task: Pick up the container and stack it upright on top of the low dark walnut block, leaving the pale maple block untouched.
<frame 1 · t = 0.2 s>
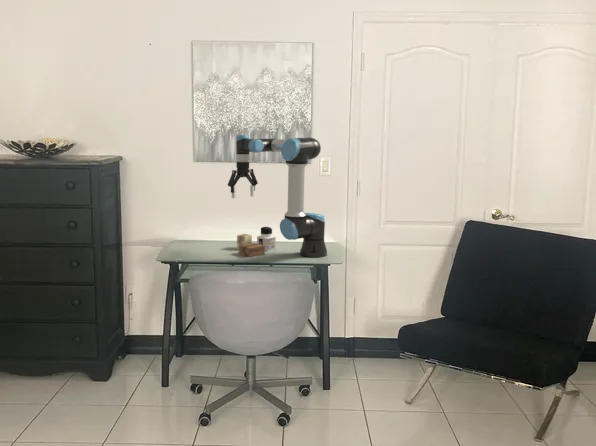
hand: (242, 197, 377), 28 cm above the table, fingers open, 13 cm apart
walnut block: (251, 254, 353), on the table
maple block: (244, 248, 367), on the table
container: (266, 249, 366), on the table
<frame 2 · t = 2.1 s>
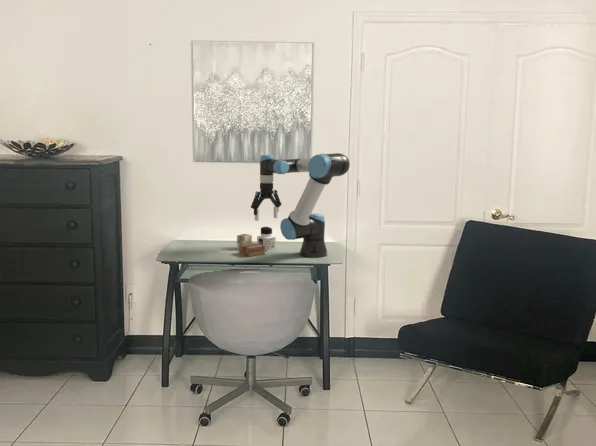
hand: (266, 219, 363), 17 cm above the table, fingers open, 13 cm apart
nothing on the table moved.
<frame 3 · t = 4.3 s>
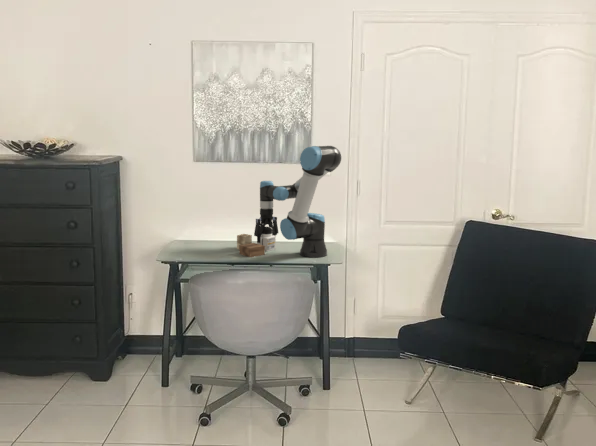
hand: (266, 247, 366), 1 cm above the table, fingers closed on container, 8 cm apart
container: (266, 249, 366), on the table, touching gripper
everything else where it was.
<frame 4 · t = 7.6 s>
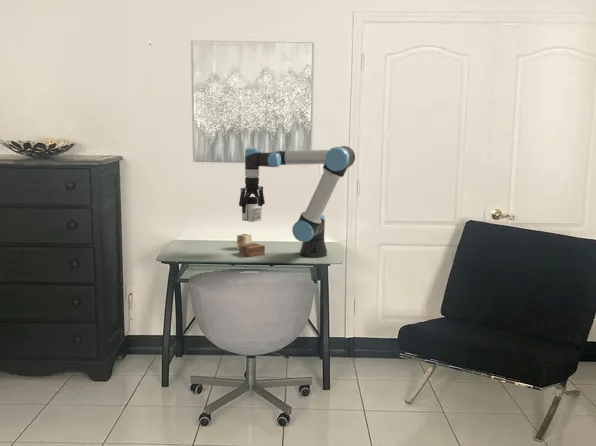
hand: (251, 217, 349), 20 cm above the table, fingers closed on container, 8 cm apart
container: (251, 220, 350), point 19 cm above the table, touching gripper
everything else where it was.
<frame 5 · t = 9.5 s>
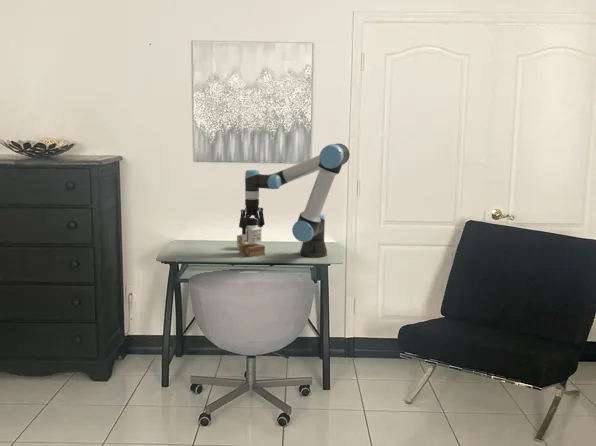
hand: (251, 239, 352), 9 cm above the table, fingers closed on container, 8 cm apart
container: (251, 241, 352), point 7 cm above the table, touching gripper
everything else where it was.
when the fingers open (8 cm above the table, at t = 10.9 s): container drops 1 cm, resting on walnut block.
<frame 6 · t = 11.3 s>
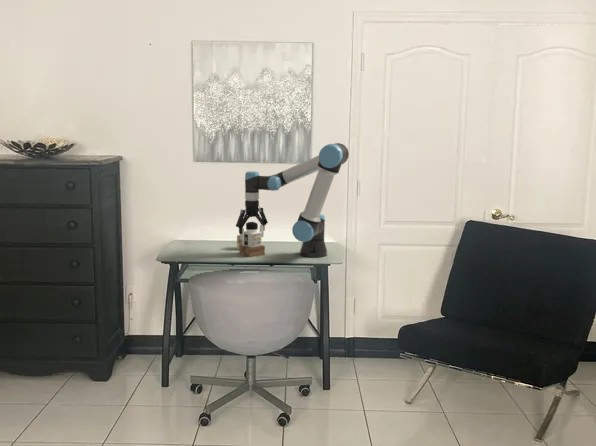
hand: (251, 238, 351), 9 cm above the table, fingers open, 13 cm apart
container: (251, 245, 352), point 5 cm above the table, touching walnut block
everything else where it was.
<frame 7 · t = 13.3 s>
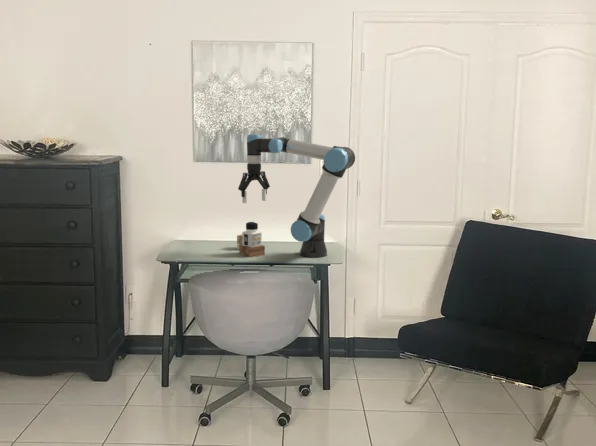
hand: (254, 201, 349), 29 cm above the table, fingers open, 13 cm apart
nothing on the table moved.
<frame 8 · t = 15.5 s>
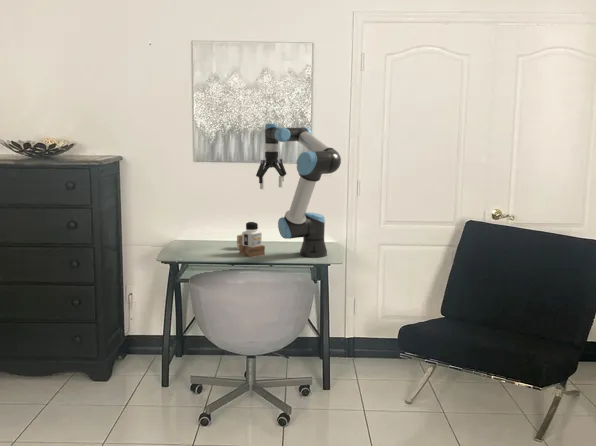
hand: (271, 188, 364), 35 cm above the table, fingers open, 13 cm apart
nothing on the table moved.
at the end: container inside the target area on the walnut block (0.0 cm from its centre), point 4.8 cm above the walnut block's base; container tilted 0°; the gripper is holding nothing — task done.
